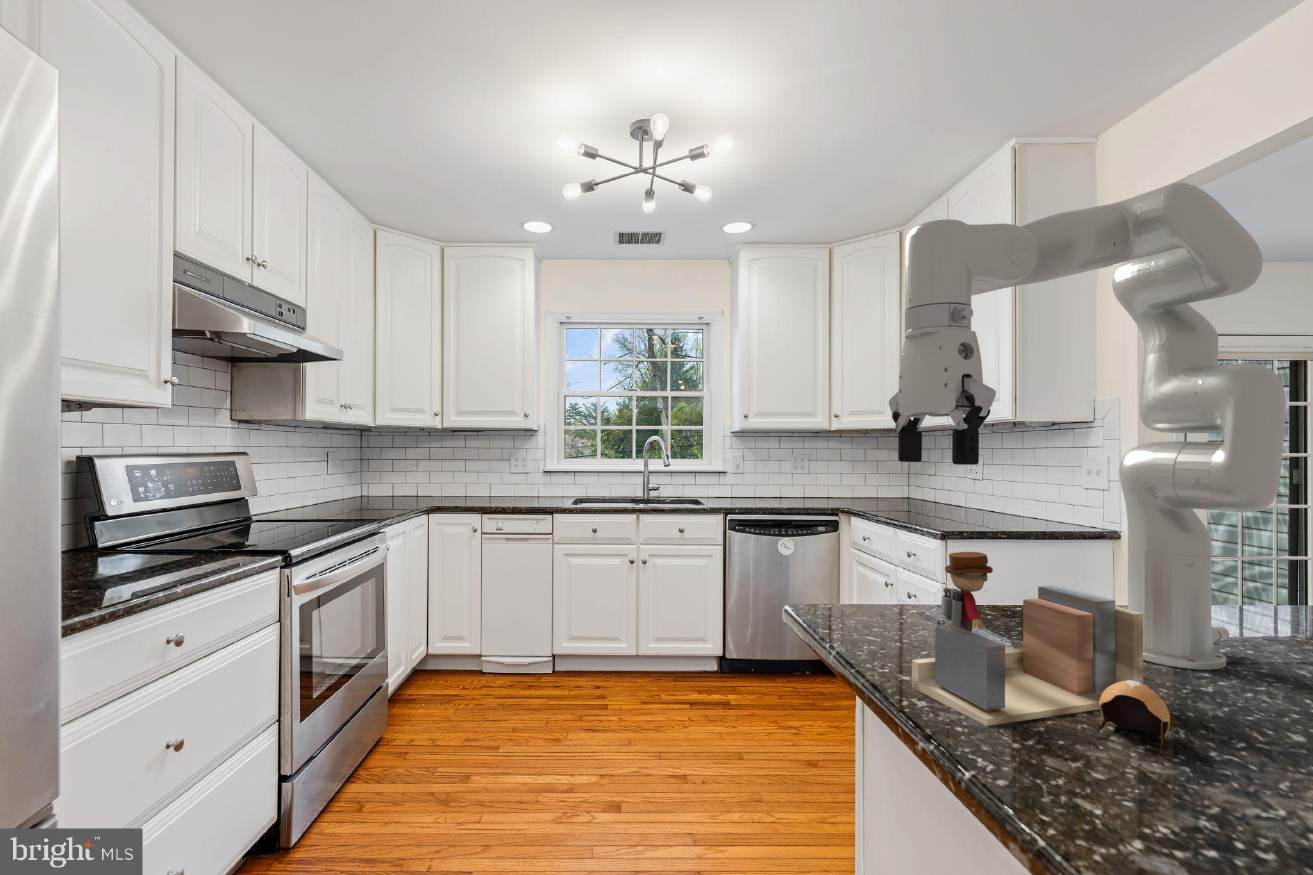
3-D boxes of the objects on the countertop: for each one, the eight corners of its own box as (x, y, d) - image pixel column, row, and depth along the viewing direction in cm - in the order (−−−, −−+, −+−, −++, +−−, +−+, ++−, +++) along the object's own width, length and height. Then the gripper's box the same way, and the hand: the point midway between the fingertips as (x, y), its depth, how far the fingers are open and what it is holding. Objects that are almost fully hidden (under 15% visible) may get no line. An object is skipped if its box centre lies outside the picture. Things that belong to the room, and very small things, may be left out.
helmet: (1167, 788, 60) (1176, 719, 65) (1160, 748, 58) (1170, 679, 62) (1095, 765, 65) (1109, 702, 69) (1086, 726, 62) (1100, 663, 66)
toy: (1005, 670, 84) (1005, 561, 84) (952, 666, 85) (952, 559, 85) (979, 643, 95) (979, 547, 95) (932, 640, 96) (932, 545, 96)
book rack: (1052, 669, 84) (1052, 581, 84) (1143, 705, 73) (1143, 603, 73) (911, 687, 78) (912, 591, 78) (986, 730, 66) (987, 617, 66)
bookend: (951, 680, 76) (952, 624, 76) (1005, 707, 68) (1005, 645, 68) (935, 683, 75) (935, 626, 75) (986, 710, 68) (987, 647, 68)
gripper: (1020, 313, 68) (1018, 466, 68) (916, 338, 85) (915, 461, 85) (963, 308, 66) (962, 465, 66) (869, 335, 83) (867, 460, 83)
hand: (936, 463), depth 75 cm, fingers open, 9 cm apart
